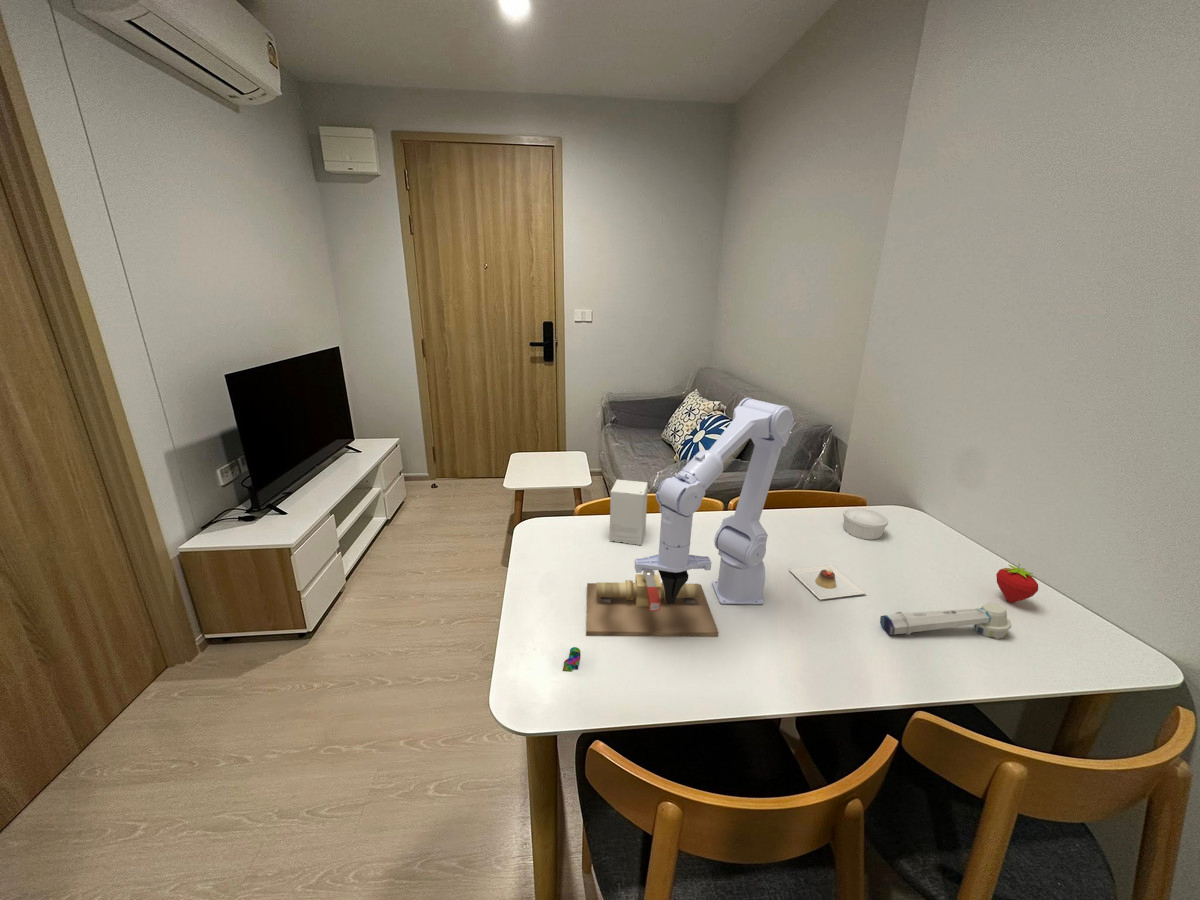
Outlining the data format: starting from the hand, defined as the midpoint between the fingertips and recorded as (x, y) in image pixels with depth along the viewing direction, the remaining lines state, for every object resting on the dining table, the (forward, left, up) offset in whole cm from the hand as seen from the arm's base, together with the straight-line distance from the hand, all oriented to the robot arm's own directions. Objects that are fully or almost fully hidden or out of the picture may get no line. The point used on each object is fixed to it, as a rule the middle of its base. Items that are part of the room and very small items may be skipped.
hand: (669, 600), depth 93 cm
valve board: (+3, -6, -6) cm, 9 cm away
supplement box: (+5, -38, -7) cm, 39 cm away
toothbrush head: (-57, 0, -7) cm, 57 cm away
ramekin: (-63, -42, -7) cm, 75 cm away
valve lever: (+3, -3, 0) cm, 4 cm away
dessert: (-40, -16, -7) cm, 44 cm away
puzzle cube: (+18, +9, -7) cm, 22 cm away
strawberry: (-79, -10, -7) cm, 80 cm away
